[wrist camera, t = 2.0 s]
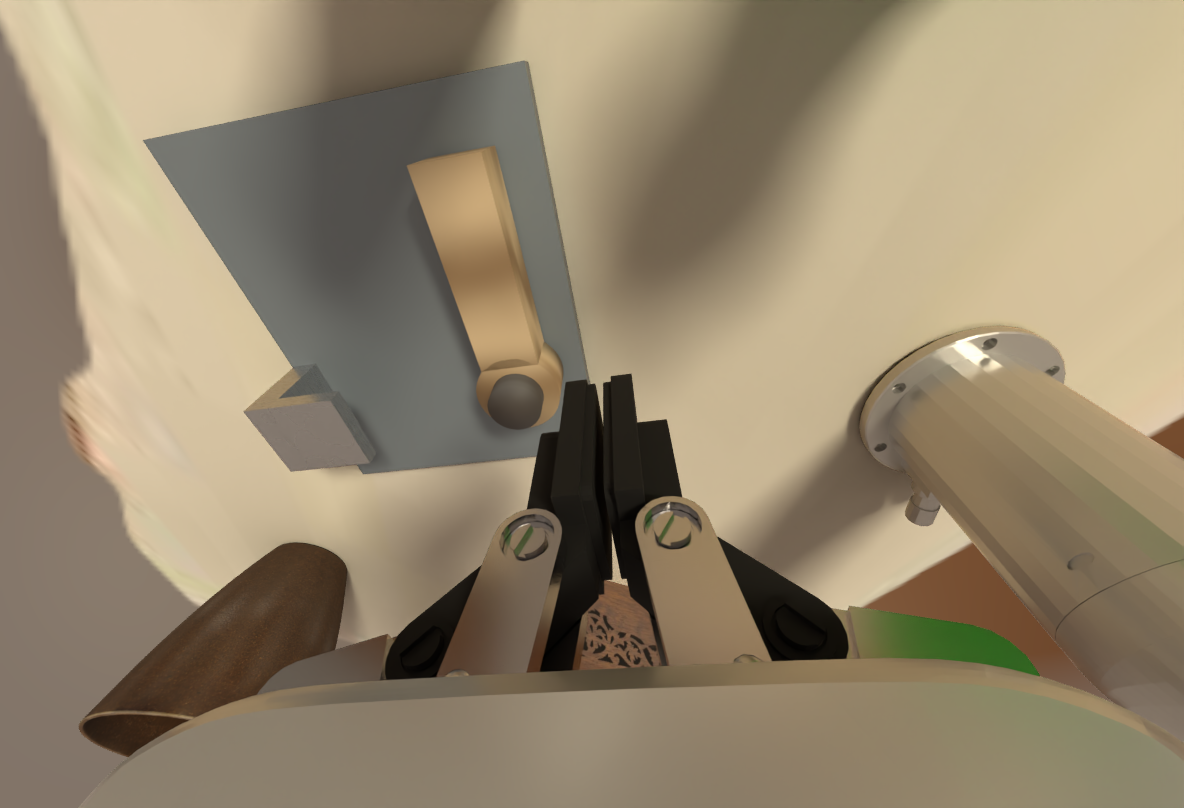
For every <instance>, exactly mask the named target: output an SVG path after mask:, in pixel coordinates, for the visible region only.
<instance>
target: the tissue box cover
mask: <svg viewBox="0 0 1184 808" xmlns="http://www.w3.org/2000/svg"><path fill="white" fill-rule="evenodd" d="M587 611H588V623H587V629H586V634H585V640H584V646H583V652H582V658H581V664H580V670H593V669H614V668H635V667H656V666H660V661H659V657H658V653H657V649H656V644H655V640H654V636H653V632H652V628H651V623H650V619H649V614H648V611H647V610H646V609H644V608H643V607H642V606H641V605H640V604H638V603H637V602H636V601H635V600H634V599H633V598H631V597H630V592H629V587H628V586H625V585H622V584H618V583H614V582H610V581H607V580H604V594H603V595H599V599H598V600H597V601H596V602H595V603H594V604H593V605H592V606H591V607H590V608H589V609H588V610H587Z"/></svg>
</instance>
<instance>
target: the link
mask: <svg viewBox="0 0 1184 808" xmlns="http://www.w3.org/2000/svg"><path fill="white" fill-rule="evenodd" d="M407 168H408V171H409V173H410V176H411V179H412V182H413V184H414V187H415V190H416V193H417V195H418V198H419V201H420V204H421V206H422V209H423V212H424V215H425V218H426V220H427V223H428V226H429V229H430V231H431V234H432V237H433V240H434V242H435V245H436V248H437V251H438V253H439V256H440V259H441V262H442V264H443V267H444V270H445V273H446V275H447V278H448V281H449V284H450V286H451V289H452V292H453V295H454V298H455V300H456V303H457V306H458V309H459V311H460V314H461V317H462V320H463V322H464V325H465V328H466V331H467V333H468V336H469V339H470V342H471V344H472V347H473V350H474V353H475V355H476V358H477V361H478V364H479V367H480V369H481V374H480V376H479V379H478V381H477V386H476V393H477V398H478V401H479V403H480V405H481V407H482V408H483V409H484V411H485V412H486V413H487V414H488V415H489V416H490V417H492V418H493V420H494V421H495V422H497V423H498V424H500V425H501V426H503V427H506V428H509V429H514V430H521V429H526V428H529V427H535V426H538V425H540V424H543V423H544V422H546V421H548V420H549V419H550V418H551V417H552V416H553V415H554V414H555V412H556V411H557V409H558V406H559V402H560V395H561V388H562V381H563V365H562V361H561V359H560V357H559V356H558V354H557V353H556V351H555V350H554V349H553V348H552V347H551V346H549V345H548V344H547V343H545V342H544V339H543V335H542V331H541V327H540V323H539V319H538V315H537V311H536V307H535V303H534V299H533V295H532V291H531V287H530V283H529V279H528V275H527V271H526V267H525V263H524V259H523V255H522V251H521V247H520V243H519V239H518V235H517V231H516V227H515V223H514V219H513V215H512V211H511V207H510V203H509V199H508V195H507V191H506V187H505V183H504V179H503V175H502V171H501V167H500V163H499V159H498V155H497V151H496V147H495V146H490V147H485V148H479V149H474V150H469V151H463V152H458V153H453V154H447V155H442V156H437V157H431V158H427V159H424V160H422V161H419V162H416V163H413V164H410V165H407Z"/></svg>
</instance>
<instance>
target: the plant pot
mask: <svg viewBox="0 0 1184 808" xmlns="http://www.w3.org/2000/svg"><path fill="white" fill-rule="evenodd" d="M346 576H347V569H346V566H345V564H344V563H343V561H342V560H341V559H340V558H339V557H337V556H336V555H335V554H333V553H331V552H330V551H328V550H326V549H323V548H321V547H318V546H314V545H310V544H305V543H288V544H283V545H280V546H279V547H277V548H275V549H274V550H273V551H271V552H270V553H268V554H267V555H265V556H264V557H263V558H261V559H260V560H259V561H257V562H256V563H254V564H253V565H252V566H250V567H249V568H248V569H246V570H245V571H244V572H243V573H241V574H240V575H239V576H237V577H236V578H235V579H233V580H232V581H231V582H230V583H228V584H227V585H226V586H225V587H223V588H222V589H221V590H220V591H219V592H217V593H216V594H215V595H214V596H212V597H211V598H210V599H209V600H208V601H206V602H205V603H204V604H203V605H202V606H201V607H199V608H198V609H197V610H196V611H195V612H194V613H193V614H192V615H190V616H189V617H188V618H187V619H186V620H185V621H184V622H182V623H181V624H180V625H179V626H178V627H177V628H176V629H175V630H174V631H172V632H171V633H170V634H169V635H168V636H167V637H166V638H165V639H164V640H163V641H162V642H161V643H159V644H158V645H157V646H156V647H155V648H154V649H153V650H152V651H151V652H150V653H149V654H148V655H147V656H146V657H145V658H144V659H143V660H142V661H140V662H139V663H138V665H136V666H135V667H134V668H133V670H131V671H130V672H129V673H128V675H126V676H125V677H124V678H123V679H122V680H121V681H120V682H119V683H118V685H116V687H115V688H114V689H113V690H111V691H110V693H108V694H107V695H106V697H105V698H104V699H102V701H101V702H100V703H99V704H98V705H97V706H96V707H95V708H94V709H93V710H92V711H91V712H90V713H89V714H88V715H87V716H86V717H85V718H84V719H83V720H82V721H81V722H80V724H79V730H80V732H81V733H82V734H83V736H84V737H86V738H87V739H89V740H90V741H91V742H93V743H95V744H97V745H98V746H100V747H103V748H105V749H107V750H109V751H112V752H115V753H117V754H120V755H123V756H126V757H129V756H131V755H132V754H133V753H134V752H136V751H137V750H138V749H140V748H141V747H143V746H145V745H146V744H148V743H149V742H151V741H153V740H154V739H156V738H157V737H159V736H161V735H162V734H164V733H166V732H167V731H169V730H171V729H173V728H175V727H176V726H178V725H180V724H182V723H184V722H187V721H189V720H191V719H193V718H195V717H198V716H200V715H202V714H204V713H206V712H209V711H211V710H213V709H216V708H218V707H221V706H224V705H226V704H229V703H231V702H235V701H238V700H241V699H244V698H247V697H251V696H255V695H257V694H258V692H259V691H260V690H261V688H262V687H263V686H264V685H265V684H266V683H267V681H268V680H269V679H270V678H271V677H272V676H274V675H275V674H276V673H278V672H279V671H280V670H281V669H283V668H284V667H286V666H288V665H291V664H293V663H295V662H297V661H300V660H304V659H307V658H310V657H314V656H317V655H320V654H323V653H327V652H330V651H333V650H335V647H336V643H337V638H338V634H339V628H340V623H341V617H342V610H343V604H344V595H345V587H346Z"/></svg>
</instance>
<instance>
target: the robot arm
mask: <svg viewBox="0 0 1184 808" xmlns="http://www.w3.org/2000/svg"><path fill="white" fill-rule="evenodd" d="M1065 374H1066V372H1065V364H1064V360H1063V358H1062V356H1061V354H1060V352H1059V350H1058V349H1057V348H1056V347H1055V346H1054V345H1052V344H1051V343H1050V342H1049V341H1048V340H1046V339H1044V338H1042V337H1040V336H1038V335H1037V334H1035V333H1033V332H1031V331H1027V330H1024V329H1021V328H1018V327H1008V326H990V327H979V328H974V329H970V330H966V331H961V332H958V333H955V334H952V335H950V336H947V337H944V338H941V339H939V340H937V341H935V342H933V343H931V344H929V345H927V346H925V347H923V348H921V349H919V350H917V351H916V352H914V353H913V354H911V355H910V356H908V357H907V358H906V359H904V360H903V361H901V362H900V363H899V364H898V365H896V366H895V367H894V368H893V369H892V370H891V371H890V372H888V373H887V374H886V375H885V376H884V378H883V379H882V380H881V381H880V382H879V383H878V384H877V386H876V387H875V388H874V390H873V391H872V393H871V394H870V396H869V398H868V399H867V401H866V403H865V405H864V408H863V411H862V413H861V419H860V426H859V427H860V434H861V438H862V441H863V443H864V445H865V447H866V448H867V449H868V451H869V452H870V453H871V454H872V456H873V457H874V458H875V459H876V460H877V461H879V462H880V463H881V464H882V465H884V466H886V467H888V468H891V469H893V470H896V471H901V472H905V473H908V475H909V476H910V477H911V478H912V479H913V481H912V485H911V487H912V489H913V491H914V492H915V493H914V495H913V496H911V498H910V500H909V503H908V505H907V508H906V510H905V516H906V517H907V519H908V520H909V521H911V522H912V523H914V524H917V525H920V526H929V525H931V524H933V522H934V520H935V517H936V515H937V513H938V511H939V509H940V504H941V505H942V506H943V507H944V508H945V510H946V511H947V512H948V513H949V515H950V516H951V517H952V518H953V519H954V521H955V522H956V523H957V524H958V525H959V527H960V528H961V529H962V530H963V531H964V533H965V534H966V535H967V536H968V537H969V539H970V540H971V541H972V542H973V543H974V545H975V546H976V547H977V548H978V549H979V551H980V552H981V553H982V554H983V556H984V557H985V558H986V559H987V560H988V562H989V563H990V564H991V565H992V566H993V568H994V569H995V570H996V571H997V572H998V574H999V575H1000V576H1001V577H1002V578H1003V580H1004V581H1005V582H1006V583H1007V584H1008V586H1009V587H1010V588H1011V589H1012V591H1013V592H1014V593H1015V594H1016V595H1017V597H1018V598H1019V599H1020V600H1021V601H1022V603H1023V604H1024V605H1025V606H1026V607H1027V609H1028V610H1029V611H1030V612H1031V614H1032V615H1033V616H1034V617H1035V618H1036V620H1037V621H1038V622H1039V623H1040V624H1041V625H1042V627H1043V628H1044V629H1045V630H1046V632H1047V633H1048V634H1049V635H1050V636H1051V637H1052V639H1053V640H1054V641H1055V642H1056V644H1057V645H1058V646H1059V647H1060V648H1061V649H1062V650H1063V652H1064V653H1065V654H1066V655H1067V656H1068V658H1069V659H1070V660H1071V661H1072V662H1073V664H1074V665H1075V666H1076V667H1077V668H1078V670H1080V672H1081V673H1082V674H1083V675H1084V676H1085V677H1086V678H1087V679H1088V680H1089V681H1090V682H1091V683H1092V685H1094V686H1095V687H1096V688H1097V689H1098V690H1099V691H1100V692H1101V693H1102V694H1104V695H1105V696H1106V697H1107V698H1108V699H1109V700H1111V701H1112V702H1113V703H1112V702H1110V701H1107V700H1104V699H1102V698H1100V697H1097V696H1095V695H1093V694H1090V693H1088V692H1086V691H1083V690H1080V689H1077V688H1074V687H1071V686H1068V685H1065V684H1062V683H1059V682H1056V681H1053V680H1050V679H1047V678H1044V677H1040V675H1039V673H1038V672H1037V670H1036V669H1035V667H1034V666H1033V664H1032V663H1031V661H1030V660H1029V659H1028V657H1027V656H1026V655H1025V654H1024V653H1022V652H1021V651H1020V650H1019V649H1018V648H1017V647H1016V646H1015V645H1013V644H1012V643H1011V642H1010V641H1008V640H1007V639H1005V638H1003V637H1001V636H999V635H998V634H996V633H994V632H992V631H990V630H987V629H984V628H980V627H977V626H974V625H970V624H963V623H957V622H950V621H944V620H937V619H930V618H925V617H918V616H912V615H905V614H899V613H892V612H886V611H880V610H873V609H867V608H860V607H854V606H849V608H848V611H845V610H839V609H833V608H830V607H829V606H828V605H826V604H825V603H824V602H822V601H821V600H820V599H819V598H817V597H815V596H814V595H812V594H810V593H809V592H807V591H806V590H804V589H802V588H801V587H799V586H797V585H796V584H794V583H792V582H791V581H789V580H788V579H786V578H784V577H783V576H781V575H779V574H778V573H776V572H775V571H773V570H771V569H770V568H768V567H766V566H765V565H763V564H761V563H760V562H758V561H757V560H755V559H753V558H752V557H750V556H748V555H747V554H745V553H743V552H742V551H740V550H739V549H737V548H735V547H734V546H732V545H730V544H729V543H727V542H725V541H724V540H722V539H721V538H719V537H717V536H716V533H715V531H714V529H713V527H712V524H711V522H710V520H709V518H708V516H707V514H706V513H705V511H704V510H703V508H701V507H700V506H699V505H698V504H696V503H695V502H693V501H691V500H689V499H686V498H683V497H682V493H681V488H680V483H679V478H678V473H677V468H676V463H675V458H674V453H673V448H672V443H671V438H670V433H669V428H668V423H667V420H666V419H665V420H656V421H647V422H638V423H637V416H636V407H635V399H634V391H633V383H632V375H631V374H625V375H617V376H611V382H605V383H603V422H602V417H601V411H600V406H599V401H598V395H597V390H596V385H595V384H588V382H587V380H586V379H585V380H576V381H568V382H566V383H565V390H564V398H563V406H562V413H561V421H560V429H559V431H557V432H548V433H542V434H541V437H540V441H539V446H538V452H537V457H536V463H535V468H534V474H533V479H532V485H531V490H530V495H529V501H528V506H527V509H526V510H523V511H520V512H517V513H515V514H514V515H512V516H510V517H509V518H507V519H506V520H505V521H504V522H503V523H502V524H501V525H500V526H499V528H498V529H497V531H496V533H495V535H494V537H493V539H492V542H491V544H490V546H489V549H488V551H487V554H486V556H485V559H484V561H483V564H482V565H481V566H480V567H479V568H477V569H476V570H475V571H474V572H473V573H471V574H470V575H469V576H468V577H466V578H465V579H464V580H463V581H461V582H460V583H459V584H458V585H457V586H455V587H454V588H453V589H452V590H450V591H449V592H448V593H447V594H445V595H444V596H443V597H442V598H441V599H439V600H438V601H437V602H436V603H434V604H433V605H432V606H431V607H429V608H428V609H427V610H426V611H425V612H423V613H422V614H421V615H420V616H418V617H417V618H416V619H415V620H414V621H412V622H411V623H410V624H409V625H408V626H407V627H406V628H405V629H404V630H403V631H402V632H401V633H400V634H399V635H398V636H396V637H393V638H391V637H390V636H389V635H388V634H386V635H382V636H379V637H376V638H373V639H369V640H366V641H363V642H359V643H356V644H353V645H350V646H346V647H343V648H340V649H337V650H333V651H330V652H327V653H323V654H320V655H317V656H314V657H310V658H307V659H304V660H300V661H297V662H295V663H293V664H291V665H288V666H286V667H284V668H283V669H281V670H280V671H279V672H278V673H276V674H275V675H274V676H272V677H271V678H270V679H269V680H268V681H267V683H266V684H265V685H264V686H263V687H262V688H261V690H260V691H259V692H258V694H257V695H255V696H251V697H247V698H244V699H241V700H238V701H235V702H231V703H229V704H226V705H224V706H221V707H218V708H216V709H213V710H211V711H209V712H206V713H204V714H202V715H200V716H198V717H195V718H193V719H191V720H189V721H187V722H184V723H182V724H180V725H178V726H176V727H175V728H173V729H171V730H169V731H167V732H166V733H164V734H162V735H161V736H159V737H157V738H156V739H154V740H153V741H151V742H149V743H148V744H146V745H145V746H143V747H141V748H140V749H138V750H137V751H136V752H134V753H133V754H132V755H131V756H129V757H128V758H127V759H126V760H124V761H123V762H122V763H120V764H119V765H118V766H117V767H116V768H115V769H114V770H113V771H112V772H111V773H110V774H109V775H108V776H107V777H106V778H105V779H104V780H103V781H102V782H101V783H100V784H99V785H98V786H97V788H96V789H94V791H93V792H92V793H91V794H90V795H89V796H88V797H87V798H86V799H85V801H84V802H83V803H82V804H81V805H80V807H79V808H1184V459H1182V458H1181V457H1179V456H1177V455H1176V454H1174V453H1173V452H1171V451H1169V450H1168V449H1166V448H1165V447H1163V446H1162V445H1160V444H1158V443H1157V442H1155V441H1153V440H1152V439H1150V438H1149V437H1147V436H1146V435H1144V434H1142V433H1141V432H1139V431H1138V430H1136V429H1134V428H1133V427H1131V426H1130V425H1128V424H1126V423H1125V422H1123V421H1122V420H1120V419H1118V418H1117V417H1115V416H1114V415H1112V414H1110V413H1109V412H1107V411H1106V410H1104V409H1102V408H1101V407H1099V406H1098V405H1096V404H1094V403H1093V402H1091V401H1090V400H1088V399H1086V398H1085V397H1083V396H1082V395H1080V394H1078V393H1077V392H1075V391H1073V390H1072V389H1070V388H1069V387H1067V386H1065V385H1064V380H1065ZM612 535H613V540H614V544H615V549H616V554H617V559H618V564H619V569H620V573H621V578H622V579H627V582H628V587H629V592H630V597H631V598H633V599H634V600H635V601H636V602H637V603H638V604H640V605H641V606H642V607H643V608H644V609H646V610H647V611H648V614H649V619H650V623H651V628H652V632H653V636H654V640H655V644H656V649H657V653H658V657H659V661H660V666H656V667H635V668H614V669H593V670H580V664H581V658H582V652H583V646H584V640H585V634H586V629H587V623H588V611H587V610H588V609H589V608H590V607H591V606H592V605H593V604H594V603H595V602H596V601H597V600H598V599H599V595H603V594H604V580H612ZM1114 703H1115V704H1114Z"/></svg>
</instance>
